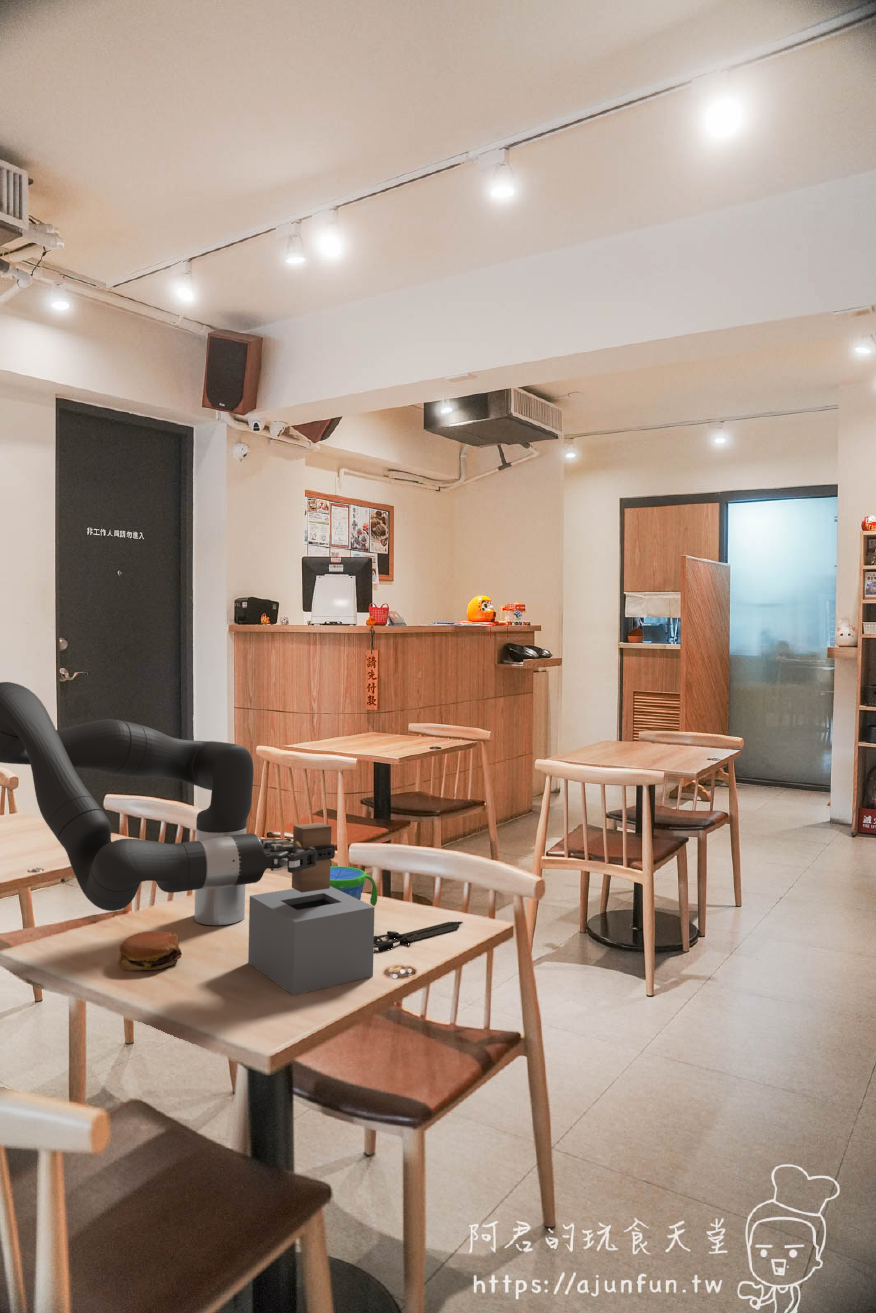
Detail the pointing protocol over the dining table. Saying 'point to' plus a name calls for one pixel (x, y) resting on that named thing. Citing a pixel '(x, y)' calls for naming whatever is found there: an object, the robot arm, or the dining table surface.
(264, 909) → the tissue box
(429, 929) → the knife
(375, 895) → the snack cup
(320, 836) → the brown rectangular block
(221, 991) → the dining table surface
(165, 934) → the burger
